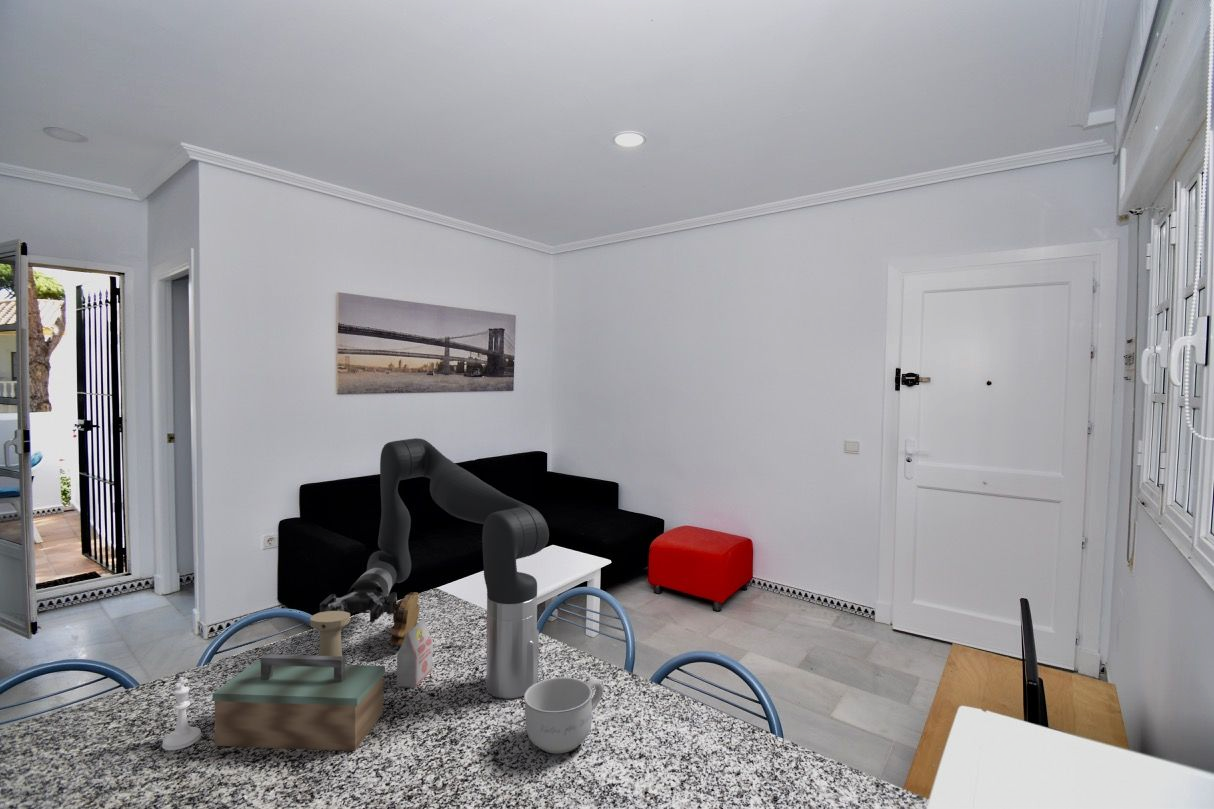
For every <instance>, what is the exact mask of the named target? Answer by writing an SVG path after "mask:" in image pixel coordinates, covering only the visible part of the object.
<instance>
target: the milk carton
mask: <svg viewBox="0 0 1214 809" xmlns="http://www.w3.org/2000/svg"><path fill="white" fill-rule="evenodd" d="M432 671H433V638H432V636H431V633H430V632H429V628H428V626H427V623H426V619H422V620H420V621H419V622H417V624H416V626H414V627H413V628H412V629H411V630H410V631H408V632H407V633H406V635H405V639H404V641H403V644H402V646H401V645H400V648H399V650H398V652H397V654H396V687H404V688H406V687H407V688H414V687H415V688H416V686H417V685H418V686H419V685H420V684H421V682H422V681H424V679H425V678H426V677H428V675H429V674H430V673H431V672H432ZM418 686H417V687H418ZM415 688H414V689H415Z"/></svg>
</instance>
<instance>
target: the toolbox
mask: <svg viewBox="0 0 1214 809" xmlns="http://www.w3.org/2000/svg"><path fill="white" fill-rule="evenodd" d="M385 674H386V665H367V664H365V665H364V664H346V656H342V657H341V656H319V655H303V654H301V655H300V654H276V653H275V654H270V653H269V654H267V653H265V654H264V655H263V656H261V657H260V661H253V663H252V664H250V665H249V666H248V667H246V668H244V669H243V671H241V672H240V673H238V674H237V675H235V676H234V677H232V678H231V679H230V680H229V681H227V682H226V683H225V684H223V685H222V686H221V687H219V688H218V689H217V690H215V691H214V692H212V702H214V746H216V747H242V748H266V749H267V748H269V749H296V750H297V749H298V750H320V751H322V750H323V751H324V750H326V751H348V752H349V751H351V752H356V751H357V749H358V748H359V746H360V745H361V744H362V743H363V741H364V739H365V738H366V737H367V735H368V734H369V733H370V732H371V730H372V729H373V727H375V725H376V724H377V722H378V721H379V719H380V718H381V717H382V715H383V714H384V675H385Z"/></svg>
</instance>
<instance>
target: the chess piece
mask: <svg viewBox="0 0 1214 809" xmlns="http://www.w3.org/2000/svg"><path fill="white" fill-rule="evenodd" d="M187 683H189V679H188V678H185V677H184V676H180V677H179V678H178V682H176V683H175V684H174V687H175V688H176V689H175V690H174V691H173V696H174V697H175V699H176V703H175V704H173V708H172V709H173V710H176V711H177V714H176V715H177V716H176V722H175V723H176V724H175V729H174V730H173V731H172V732H170V733H168V734H167V735H166V736H165V737H164V738H163V740H162V745H161V748H162V749H163V750H165V751H177V750H182V749H184V748H187V747H189V746H192V745H193V744H195V743H197V742H198V741H199V740H200V739H201V738H202V729H201V728H199V727H196V726H190V725H189V722H188V717H187V709H186V708H188V707H189V706H190V705H191V702H190V701H189V700H187V698H188V694H189V692H190V690H191V688H190V687H189V686H185V684H187Z"/></svg>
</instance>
